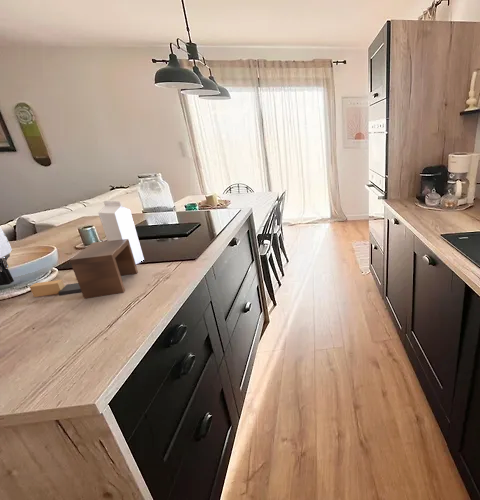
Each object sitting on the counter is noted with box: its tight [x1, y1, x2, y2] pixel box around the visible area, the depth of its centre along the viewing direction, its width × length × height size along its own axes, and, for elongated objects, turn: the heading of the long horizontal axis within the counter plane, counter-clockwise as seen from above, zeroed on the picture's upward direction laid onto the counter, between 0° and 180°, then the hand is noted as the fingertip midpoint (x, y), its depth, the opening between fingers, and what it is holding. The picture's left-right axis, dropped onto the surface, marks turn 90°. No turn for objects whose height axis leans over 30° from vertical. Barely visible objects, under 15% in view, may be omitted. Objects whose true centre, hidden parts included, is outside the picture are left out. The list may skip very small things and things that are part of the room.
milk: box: [98, 200, 145, 265], centre depth 97 cm, size 6×6×22 cm
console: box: [69, 239, 139, 300], centre depth 84 cm, size 9×15×12 cm, turn 22°
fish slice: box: [29, 279, 82, 298], centre depth 82 cm, size 12×5×3 cm, turn 112°
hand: (4, 283), depth 77 cm, fingers closed
